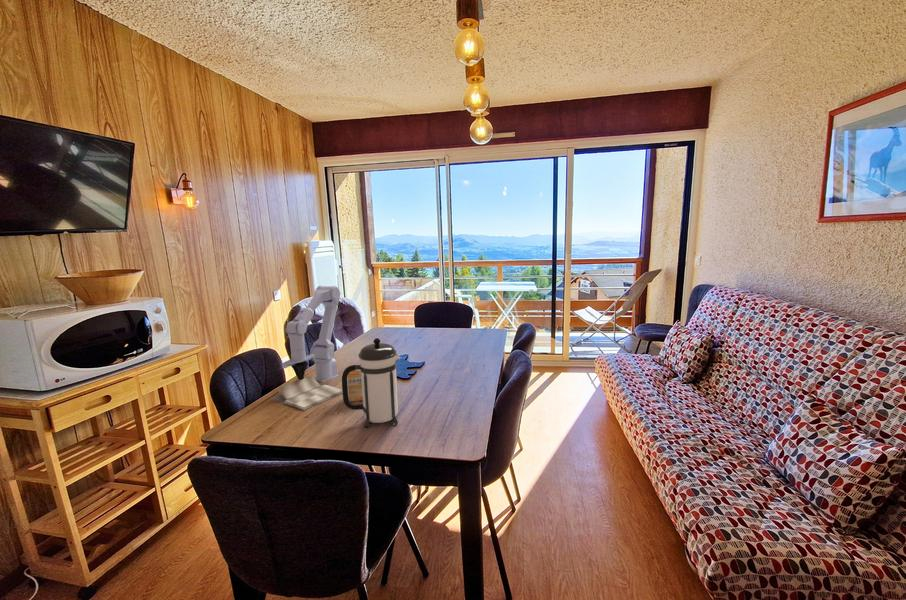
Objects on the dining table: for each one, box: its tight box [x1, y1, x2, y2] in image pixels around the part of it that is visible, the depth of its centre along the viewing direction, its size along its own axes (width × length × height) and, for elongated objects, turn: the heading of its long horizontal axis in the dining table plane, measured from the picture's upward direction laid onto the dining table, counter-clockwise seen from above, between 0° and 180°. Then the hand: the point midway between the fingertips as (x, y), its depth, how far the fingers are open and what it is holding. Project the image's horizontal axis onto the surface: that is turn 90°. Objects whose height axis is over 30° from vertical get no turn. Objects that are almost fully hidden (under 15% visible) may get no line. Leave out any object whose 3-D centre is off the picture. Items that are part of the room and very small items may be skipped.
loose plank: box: [276, 375, 320, 400], centre depth 154 cm, size 16×7×1 cm
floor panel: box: [270, 384, 343, 412], centre depth 151 cm, size 20×22×2 cm
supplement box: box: [347, 369, 363, 403], centre depth 147 cm, size 8×5×13 cm, turn 105°
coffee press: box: [341, 337, 402, 429], centre depth 127 cm, size 17×16×30 cm
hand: (300, 379), depth 157 cm, fingers closed
